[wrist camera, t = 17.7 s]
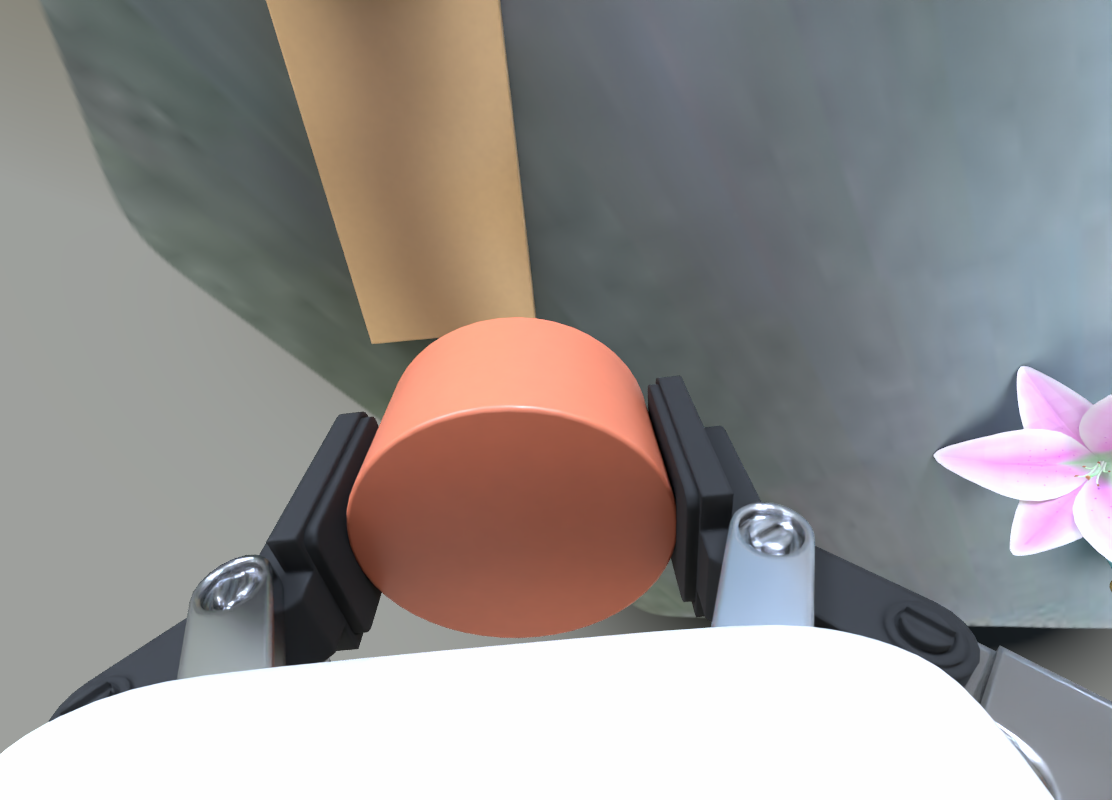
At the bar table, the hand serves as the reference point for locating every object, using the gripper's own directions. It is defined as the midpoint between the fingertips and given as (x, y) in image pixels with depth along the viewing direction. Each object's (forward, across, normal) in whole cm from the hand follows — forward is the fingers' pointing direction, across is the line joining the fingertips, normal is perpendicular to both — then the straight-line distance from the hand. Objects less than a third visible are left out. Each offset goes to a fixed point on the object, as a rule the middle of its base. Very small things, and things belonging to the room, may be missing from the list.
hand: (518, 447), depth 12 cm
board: (+14, +4, -7) cm, 17 cm away
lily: (+15, -28, +13) cm, 34 cm away
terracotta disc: (+1, 0, 0) cm, 1 cm away
